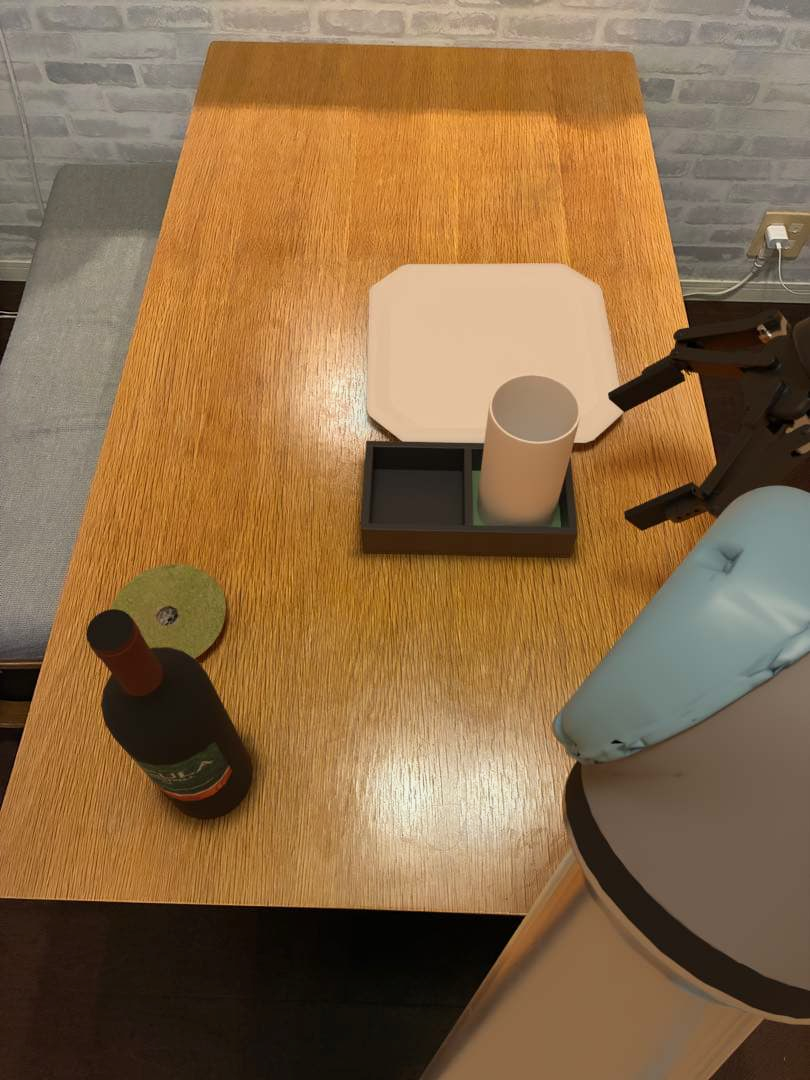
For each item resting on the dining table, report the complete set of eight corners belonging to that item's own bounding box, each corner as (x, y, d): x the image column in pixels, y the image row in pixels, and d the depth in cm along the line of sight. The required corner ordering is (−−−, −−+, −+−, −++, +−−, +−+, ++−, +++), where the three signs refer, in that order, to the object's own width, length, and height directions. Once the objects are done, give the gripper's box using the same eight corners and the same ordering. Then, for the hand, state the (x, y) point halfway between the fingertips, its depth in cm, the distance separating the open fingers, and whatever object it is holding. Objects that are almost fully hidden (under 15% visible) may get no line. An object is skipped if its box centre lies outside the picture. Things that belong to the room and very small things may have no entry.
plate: (626, 453, 94) (631, 440, 93) (366, 455, 94) (365, 442, 93) (594, 274, 110) (597, 261, 108) (370, 276, 110) (369, 262, 108)
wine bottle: (268, 755, 77) (199, 601, 51) (224, 834, 73) (126, 711, 48) (196, 721, 78) (94, 556, 53) (150, 797, 75) (17, 659, 49)
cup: (510, 554, 87) (530, 458, 73) (461, 500, 90) (470, 400, 77) (571, 514, 89) (600, 415, 76) (520, 463, 93) (539, 360, 79)
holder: (570, 557, 87) (578, 533, 84) (362, 553, 88) (360, 529, 84) (562, 470, 93) (569, 444, 89) (367, 466, 94) (366, 440, 90)
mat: (136, 565, 87) (131, 555, 85) (242, 581, 86) (239, 572, 84) (97, 666, 81) (90, 657, 80) (210, 684, 80) (206, 676, 79)
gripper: (929, 498, 61) (664, 593, 74) (842, 262, 74) (630, 378, 87) (890, 451, 56) (615, 561, 69) (805, 209, 70) (588, 339, 83)
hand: (623, 459), depth 78 cm, fingers open, 13 cm apart
